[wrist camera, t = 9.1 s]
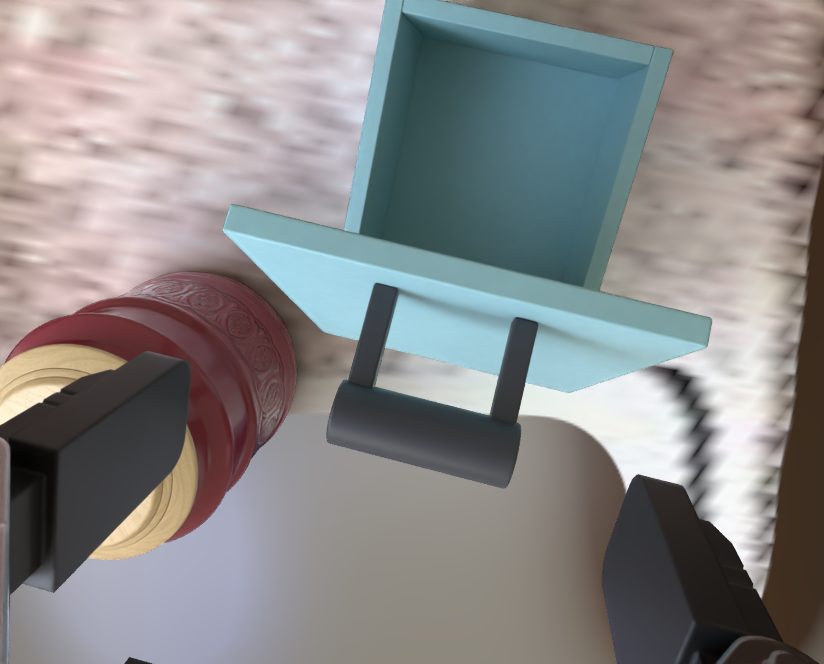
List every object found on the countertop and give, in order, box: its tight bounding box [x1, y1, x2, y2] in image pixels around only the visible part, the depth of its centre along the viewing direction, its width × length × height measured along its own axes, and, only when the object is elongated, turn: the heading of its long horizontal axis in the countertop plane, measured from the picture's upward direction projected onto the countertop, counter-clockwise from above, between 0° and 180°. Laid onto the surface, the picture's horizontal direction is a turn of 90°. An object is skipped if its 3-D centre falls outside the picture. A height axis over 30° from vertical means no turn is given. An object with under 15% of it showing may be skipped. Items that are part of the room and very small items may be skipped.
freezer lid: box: [223, 204, 712, 488], centre depth 25 cm, size 16×13×5 cm
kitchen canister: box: [0, 272, 297, 560], centre depth 37 cm, size 13×13×18 cm
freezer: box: [344, 0, 674, 291], centre depth 35 cm, size 16×13×9 cm
